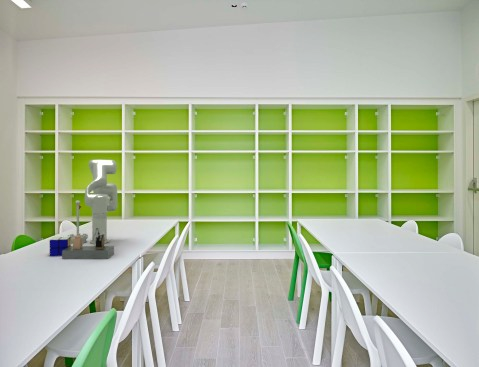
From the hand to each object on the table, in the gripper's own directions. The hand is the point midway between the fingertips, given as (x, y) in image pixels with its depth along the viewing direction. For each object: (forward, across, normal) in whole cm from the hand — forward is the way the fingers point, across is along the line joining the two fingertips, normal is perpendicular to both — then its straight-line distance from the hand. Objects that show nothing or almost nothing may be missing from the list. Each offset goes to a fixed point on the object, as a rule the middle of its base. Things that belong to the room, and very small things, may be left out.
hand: (100, 246), depth 211 cm
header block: (+6, 0, -6) cm, 9 cm away
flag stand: (+7, -41, -28) cm, 50 cm away
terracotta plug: (+5, 0, -13) cm, 14 cm away
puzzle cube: (+7, -6, -26) cm, 27 cm away
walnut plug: (+5, 0, 0) cm, 5 cm away
